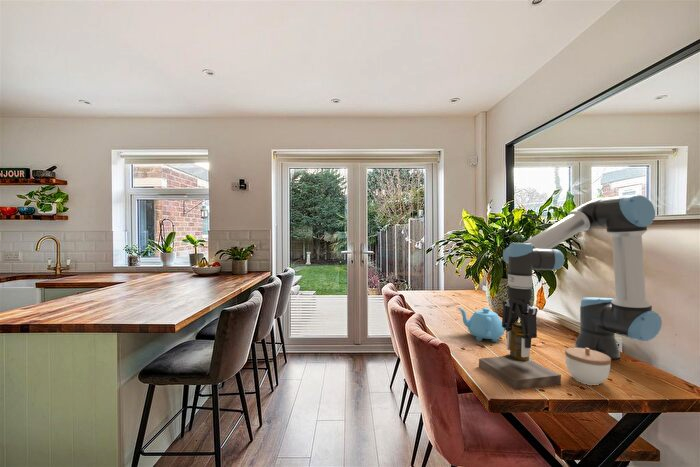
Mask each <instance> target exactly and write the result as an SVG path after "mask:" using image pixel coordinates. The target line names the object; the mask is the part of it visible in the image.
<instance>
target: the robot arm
mask: <svg viewBox="0 0 700 467" xmlns="http://www.w3.org/2000/svg"><path fill="white" fill-rule="evenodd" d="M655 218H656V209H655V207H654V204H653V203H652V201H651V200H649V199H648V197H646V196H643V195H642V194H641V195H640V194H627V195H618V196H608V197H599V198H595V199H593V200H590V201H587V202H586V203H583V204H582V205H580V206H578V207H576V208H575V209H572V210H571V211H569V212H568V214H567V216H566V217H563V219H561V220H559V221H558V222H556V223H553V224H552V225H551V226H549V227H547V228H546V229H544V230H543V231H541V232H538V233H537V234H535V235H534V236H532V237H531V238H529V239H527V240H525V241H524V242H511V243H510V244H509V245H508V246H507V247H506V248H505V249H504V250H503V253H502V258H503V261H504V262H505V263H506V264H507V285H508V287H507V298H508V300H502V319H501V321H502V327H503V328H505V329H506V330H505V331H506V332H505V333H506V334H505V336H506V337H505V338H506V350H507V351H510V341H511V330H512V324H513V323H515V322H516V321H517V319H518V318H519V319H520V323H521V325H522V330H523V335H524V337H522V348H521V357H529V358H531V357H530V356H531V355H530V354H531V353H530V352H531V348H532V339H537V338H538V333H537V330H538V329H537V328H538V327H537V314H538V308H536V307H532V306H531V302H530V301H531V300H532V297H533V295H532V292H533V290H532V287H533V271H535V270H536V271H554V270H555V271H557V270H560V269H561V268H562V267H563V266H564V264H565V255H564V254H563V252H562V251H561V250H559V249H556V248H555V247H557V246H558V245H560V244H562V243H563V242H565V241H566V240H568V239H570V238H572V237H573V236H575V235H576V234H579V233H580V232H582V233H583V232H587V231H588V230H591V229H594V228H602V227H604V228H606V233H607V234H608V235H609V236H610V237H611V239H612V242H611V243H612V256H613V271H614V272H613V273H614V287H615V298H611V297H598V296H596V297H593V296H592V297H589V296H588V297H583V298H582V299H581V300H580V307H579V308H580V309H579V312H580V314H579V316H580V317H579V318H580V319H579V320H580V321H579V323H580V324H579V326H580V327H579V332H578V336H577V337H576V340H575V342H574V348H589V349H590V350H594V351H598V352H601V353H603V354H606V355H607V356H609V357H610V358H611V360H615V359H619V358H621V351H620V349H619V345H618V342H617V340H616V338H615V337H616V336H615V335H620V336H622V337H625V338H629V339H630V340H635V341H640V342H649V341H651V340H653V339H655V338H656V337H657V335H659V333H660V331H661V328H662V325H663V324H662V317H661V316H660V314H659V313H657V312H656V311H654V310H653V306H652V303H651V302H650V301H649V300H648V299H647V298H646V284H645V282H646V280H645V266H644V253H643V252H644V250H643V235H644V234H645V233H646V232H647V231H648V227H649V226H650V225H652V224H653V222H654V220H655ZM505 323H506V324H505ZM527 334H528V335H527Z"/></svg>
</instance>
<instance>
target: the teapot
mask: <svg viewBox="0 0 700 467" xmlns="http://www.w3.org/2000/svg"><path fill="white" fill-rule="evenodd" d="M457 309H458V310H459V311H460V312H461V316H462V322H463V324H464V326H465V327H467V329H468V331H469V333H470V334H471V335H473V336H474V337H475V341H483V339H486V340H487V339H489V340H491V342H492V341H493V343H498V342H499V340H498V339H501V337H502V336H503V335H504V334H505V331H506V329H505V328H503V327H502V319H501V318H500V316H499V315H498V313H497V312H494V311H491V310H490V308H488V307H483V308H482V309H481V310H475V311H474V313H473V314H472V315H471V317H470V318H469V319H468V318H467V313H466V310H464V309H463V308H459V307H457ZM505 324H506V323H505Z"/></svg>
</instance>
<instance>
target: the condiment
mask: <svg viewBox="0 0 700 467" xmlns="http://www.w3.org/2000/svg"><path fill="white" fill-rule="evenodd" d="M527 335H528V334H527ZM522 337H524V335H523V330H522V325H521V322H515V323H513V324H512V330H511V341H510V350H509V353H508V354H505V355H501V356H500V357H503V358H505V359H508V360H511V361H513V362H516V363H520V364H523V363H526V362H530V361H534V360H535V358H533V357H521V348H522Z"/></svg>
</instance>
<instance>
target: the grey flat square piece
mask: <svg viewBox="0 0 700 467" xmlns="http://www.w3.org/2000/svg"><path fill="white" fill-rule="evenodd" d="M478 368H480V369H482V370H483V371H485V372H487V374H489V375H491V376H493V377H494V378H496V379H497V380H499V381H501V382H502V383H503V384H505V385H507V386H508V387H509V388H512V389H513V390H514V391H517V390H524V389H525V390H526V389H532V388H539V387H549V386H554V385H555V386H556V384H557V385H562V374H560V373H558V372H556V371H554V370H552V369H550V368H547V367H546V366H543V365H542V364H539V363H537V362H535V361H534V360H532V361H530V362H526V363H523V364H520V363H516V362H513V361H511V360H508V359H505V358H503V357H501V356H493V357H483V358H478Z"/></svg>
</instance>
